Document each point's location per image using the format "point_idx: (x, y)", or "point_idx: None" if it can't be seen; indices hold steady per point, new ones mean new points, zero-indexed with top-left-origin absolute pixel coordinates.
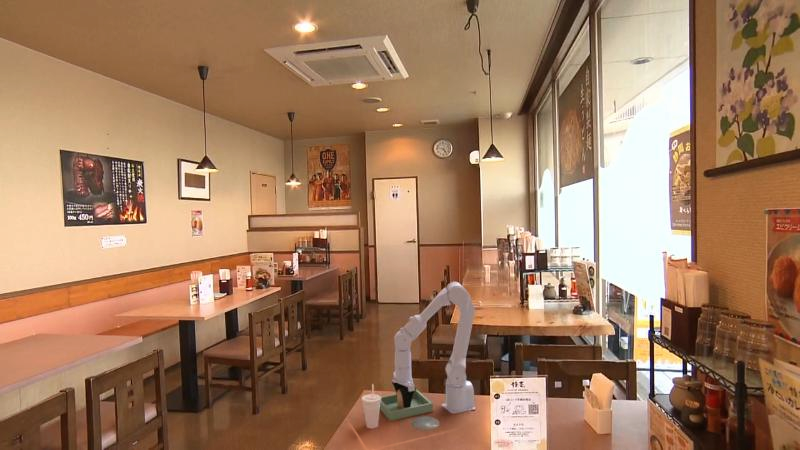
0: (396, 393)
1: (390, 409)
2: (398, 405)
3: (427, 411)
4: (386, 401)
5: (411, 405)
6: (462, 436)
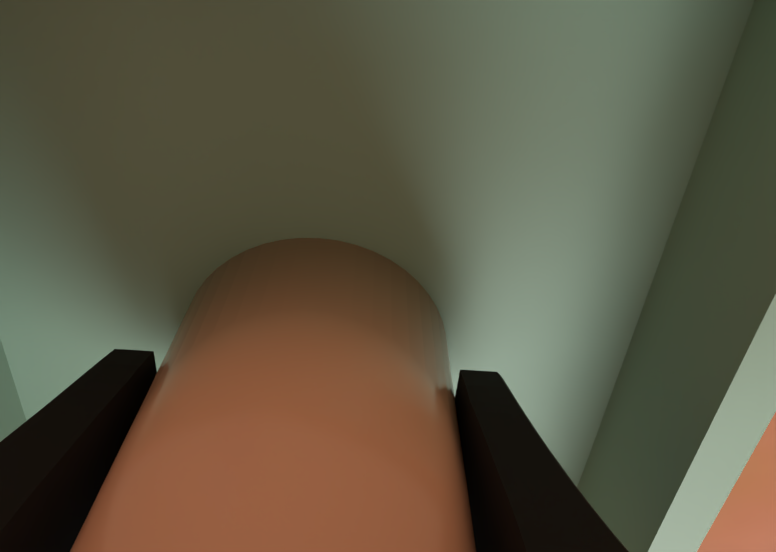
0: (560, 501)
1: (398, 96)
2: (278, 291)
3: None
4: (733, 161)
5: None
6: None
